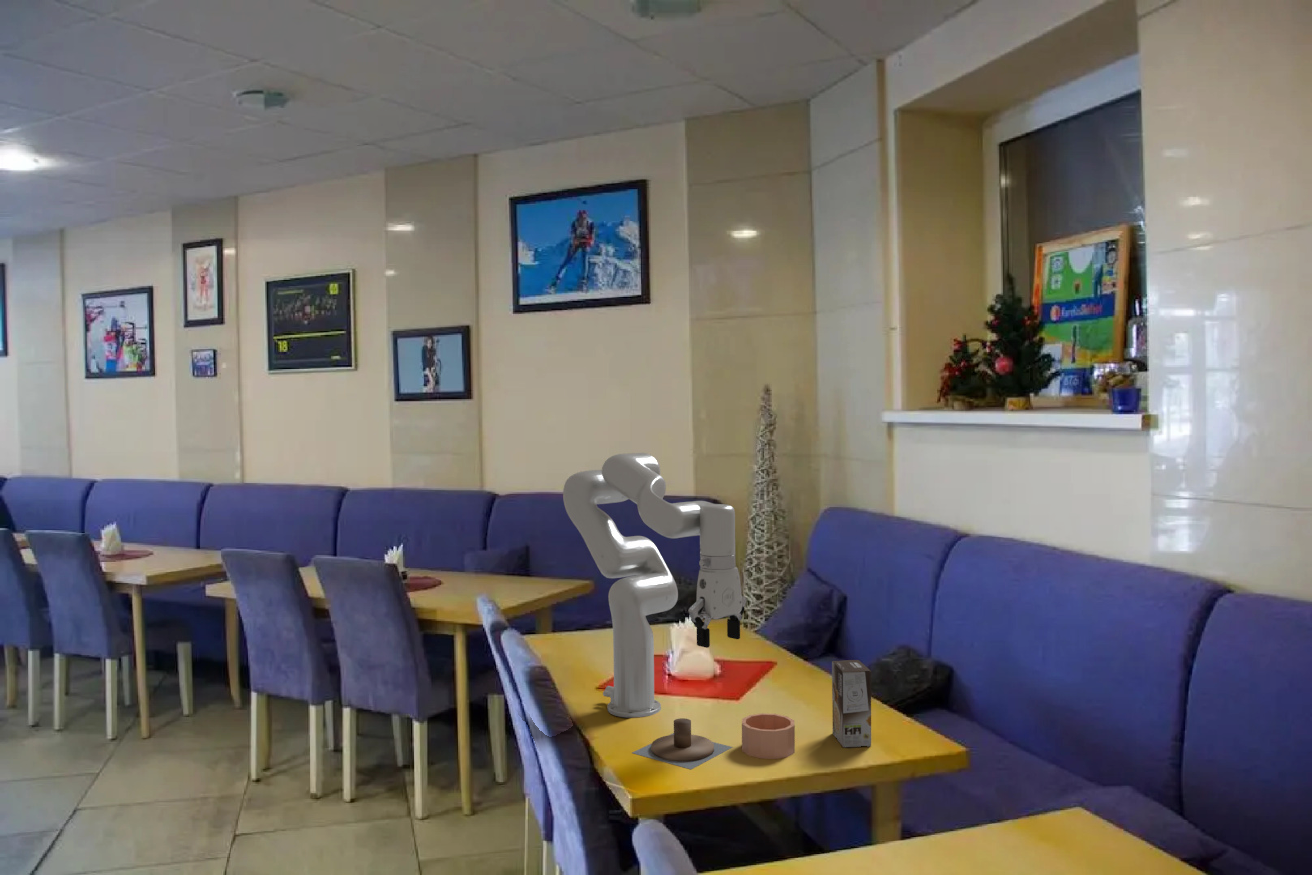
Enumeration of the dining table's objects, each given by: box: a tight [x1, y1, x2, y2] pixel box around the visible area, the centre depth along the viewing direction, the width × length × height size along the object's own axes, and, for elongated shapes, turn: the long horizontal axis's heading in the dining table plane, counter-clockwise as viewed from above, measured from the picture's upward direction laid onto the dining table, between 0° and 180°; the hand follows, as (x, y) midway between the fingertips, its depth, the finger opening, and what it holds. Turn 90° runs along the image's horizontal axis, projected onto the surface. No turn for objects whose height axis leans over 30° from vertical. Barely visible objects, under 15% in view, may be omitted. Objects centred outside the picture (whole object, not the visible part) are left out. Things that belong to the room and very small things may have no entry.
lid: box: [650, 718, 714, 762], centre depth 195 cm, size 13×13×6 cm
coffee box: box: [831, 659, 872, 748], centre depth 201 cm, size 9×6×16 cm
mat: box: [631, 732, 733, 770], centre depth 195 cm, size 15×15×1 cm
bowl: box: [741, 712, 796, 760], centre depth 195 cm, size 11×11×6 cm
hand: (718, 642), depth 201 cm, fingers open, 9 cm apart
